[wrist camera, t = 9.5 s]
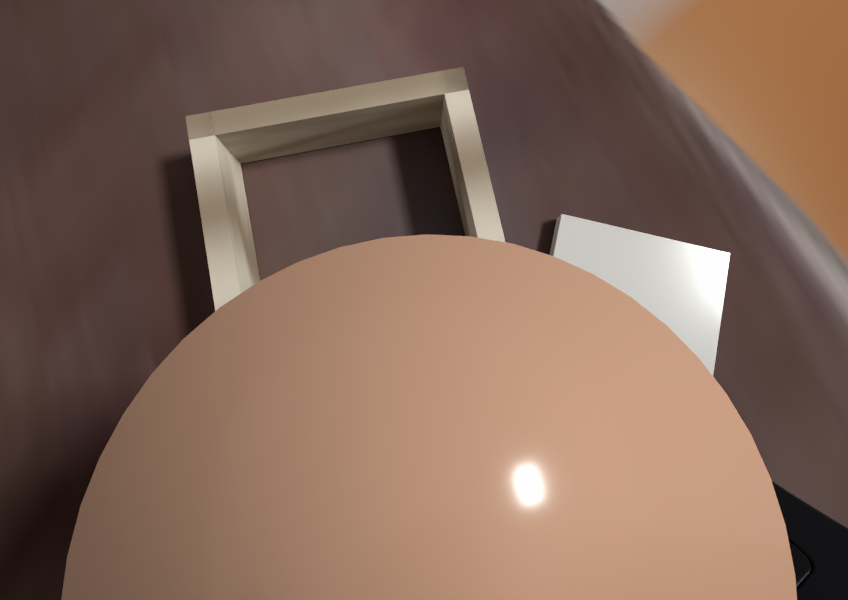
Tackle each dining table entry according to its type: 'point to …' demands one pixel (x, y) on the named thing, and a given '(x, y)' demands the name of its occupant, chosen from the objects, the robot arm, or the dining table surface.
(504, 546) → the peach tapered rounded piece
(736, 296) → the dining table surface
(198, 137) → the frame
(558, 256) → the tile
